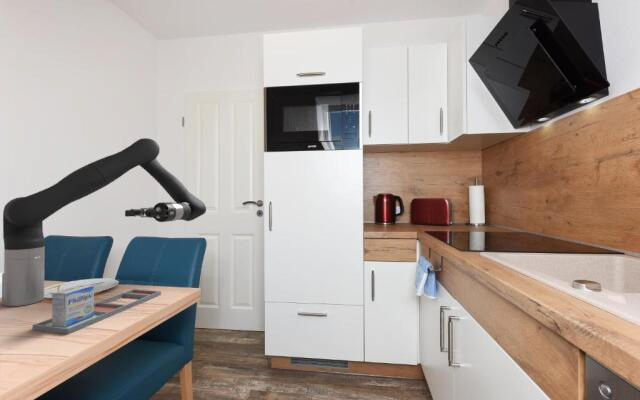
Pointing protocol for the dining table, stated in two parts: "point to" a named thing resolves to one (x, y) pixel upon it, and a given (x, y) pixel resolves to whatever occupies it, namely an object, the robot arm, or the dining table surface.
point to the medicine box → (72, 305)
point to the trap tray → (102, 310)
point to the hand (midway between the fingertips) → (136, 213)
